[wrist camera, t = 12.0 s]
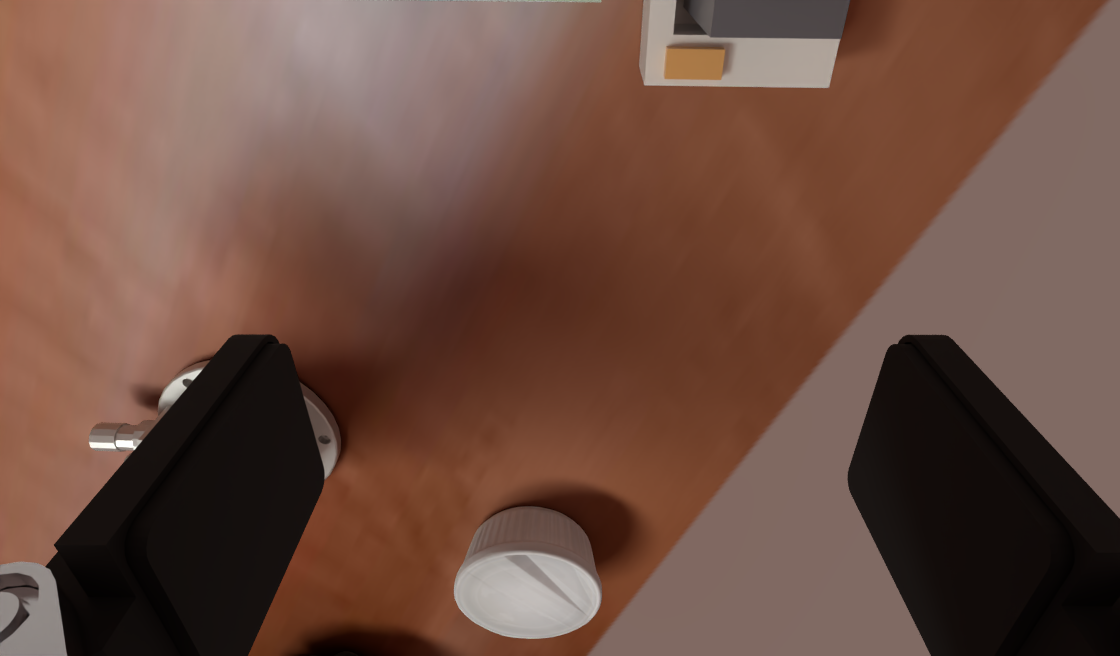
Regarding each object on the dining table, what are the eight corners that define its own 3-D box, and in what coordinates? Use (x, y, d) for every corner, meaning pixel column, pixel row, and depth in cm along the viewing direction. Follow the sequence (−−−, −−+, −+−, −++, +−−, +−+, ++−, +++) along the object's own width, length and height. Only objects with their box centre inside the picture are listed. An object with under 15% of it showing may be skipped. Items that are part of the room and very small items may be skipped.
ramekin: (621, 515, 50) (623, 574, 45) (575, 593, 56) (573, 652, 51) (484, 479, 48) (473, 537, 44) (452, 564, 54) (439, 622, 50)
